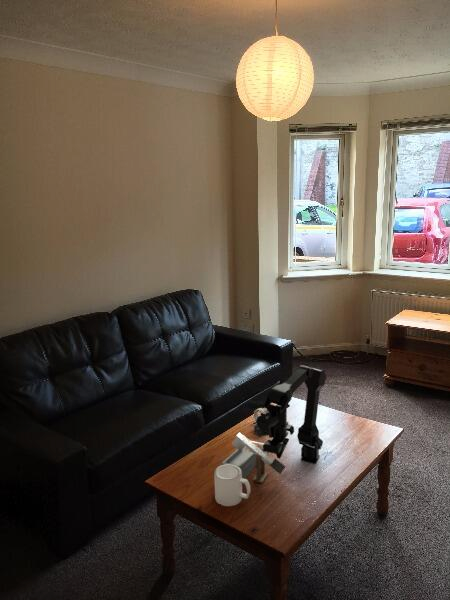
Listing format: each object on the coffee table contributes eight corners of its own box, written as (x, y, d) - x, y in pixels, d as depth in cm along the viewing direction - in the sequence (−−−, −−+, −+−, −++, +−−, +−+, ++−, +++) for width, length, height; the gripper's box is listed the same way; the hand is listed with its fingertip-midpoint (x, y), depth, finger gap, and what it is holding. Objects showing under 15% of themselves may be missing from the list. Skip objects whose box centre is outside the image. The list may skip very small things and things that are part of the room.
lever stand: (268, 474, 191) (268, 449, 188) (262, 483, 185) (261, 457, 183) (259, 472, 193) (258, 447, 190) (252, 480, 187) (252, 455, 185)
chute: (257, 462, 200) (257, 444, 198) (239, 486, 184) (239, 467, 182) (241, 458, 203) (241, 440, 201) (222, 481, 187) (221, 463, 185)
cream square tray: (268, 451, 207) (268, 444, 207) (259, 463, 199) (259, 455, 198) (248, 447, 212) (248, 440, 211) (239, 458, 203) (239, 450, 203)
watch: (264, 435, 221) (264, 413, 219) (251, 430, 227) (251, 408, 224) (272, 431, 225) (271, 409, 223) (258, 425, 231) (258, 404, 228)
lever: (278, 476, 188) (285, 466, 186) (273, 483, 184) (281, 473, 181) (234, 439, 194) (240, 430, 191) (229, 445, 190) (235, 436, 187)
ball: (256, 443, 204) (255, 452, 203) (260, 443, 208) (258, 453, 207) (248, 441, 206) (246, 451, 205) (251, 441, 210) (250, 451, 209)
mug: (254, 493, 179) (254, 468, 177) (245, 510, 170) (245, 484, 167) (221, 486, 184) (220, 462, 182) (210, 502, 175) (209, 476, 172)
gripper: (268, 407, 191) (268, 442, 195) (249, 427, 175) (250, 465, 179) (294, 412, 186) (294, 448, 190) (278, 433, 170) (278, 472, 174)
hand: (279, 457), depth 183 cm, fingers closed
